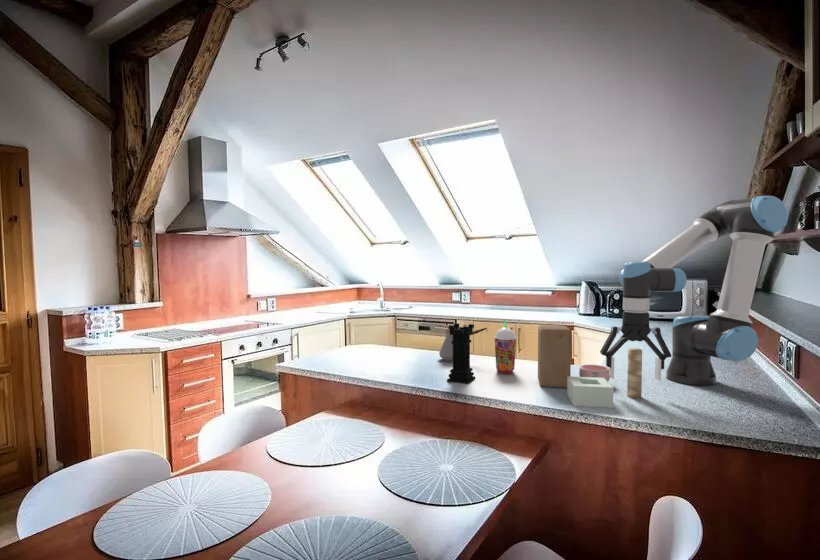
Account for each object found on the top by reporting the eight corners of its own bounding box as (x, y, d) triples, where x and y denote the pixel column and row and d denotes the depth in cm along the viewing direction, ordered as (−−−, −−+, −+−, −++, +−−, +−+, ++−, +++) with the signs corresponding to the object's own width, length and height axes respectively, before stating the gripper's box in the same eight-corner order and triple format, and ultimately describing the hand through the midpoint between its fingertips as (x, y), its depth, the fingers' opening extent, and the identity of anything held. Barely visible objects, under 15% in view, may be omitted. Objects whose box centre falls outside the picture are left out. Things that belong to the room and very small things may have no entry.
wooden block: (570, 388, 150) (571, 329, 150) (539, 387, 152) (540, 328, 152) (566, 380, 160) (567, 325, 159) (537, 379, 162) (538, 324, 161)
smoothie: (492, 373, 171) (492, 321, 170) (496, 368, 178) (496, 318, 177) (514, 375, 167) (514, 322, 167) (517, 370, 175) (518, 319, 174)
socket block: (603, 396, 142) (603, 377, 141) (613, 407, 131) (613, 387, 131) (567, 394, 144) (567, 376, 143) (573, 405, 133) (573, 385, 132)
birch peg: (638, 395, 143) (639, 348, 142) (643, 398, 139) (644, 350, 139) (625, 394, 144) (626, 348, 143) (629, 398, 140) (630, 350, 139)
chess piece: (475, 378, 164) (475, 324, 163) (468, 384, 156) (468, 327, 156) (454, 376, 167) (454, 323, 166) (447, 381, 160) (447, 325, 159)
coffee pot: (435, 361, 192) (435, 326, 191) (444, 356, 202) (444, 323, 201) (484, 366, 183) (484, 329, 182) (491, 360, 193) (491, 325, 193)
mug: (612, 389, 150) (612, 371, 150) (581, 387, 152) (581, 370, 152) (605, 380, 161) (606, 363, 161) (576, 378, 164) (576, 362, 164)
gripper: (674, 310, 142) (672, 377, 143) (591, 309, 146) (590, 373, 147) (684, 313, 134) (682, 383, 135) (596, 311, 139) (595, 379, 140)
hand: (634, 378), depth 141 cm, fingers open, 13 cm apart
